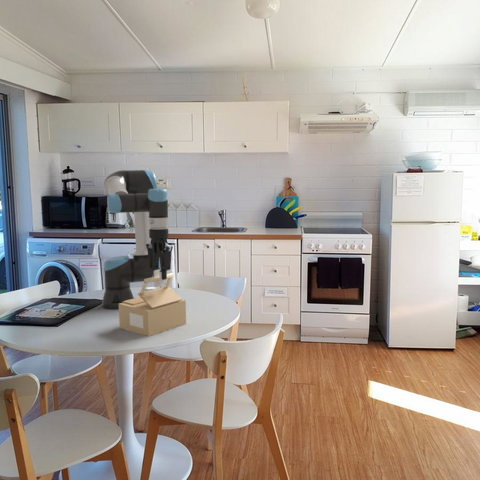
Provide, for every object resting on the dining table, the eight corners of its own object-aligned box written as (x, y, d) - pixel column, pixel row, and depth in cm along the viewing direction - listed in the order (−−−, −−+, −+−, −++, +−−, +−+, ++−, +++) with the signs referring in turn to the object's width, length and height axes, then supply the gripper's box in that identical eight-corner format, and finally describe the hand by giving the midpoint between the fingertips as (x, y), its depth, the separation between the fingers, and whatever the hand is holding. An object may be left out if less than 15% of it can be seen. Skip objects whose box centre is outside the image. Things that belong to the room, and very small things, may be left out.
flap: (137, 293, 181) (142, 278, 178) (167, 286, 193) (173, 271, 190) (151, 308, 176) (157, 293, 173) (181, 300, 189) (187, 285, 186)
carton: (119, 327, 187) (118, 302, 186) (157, 316, 203) (156, 292, 201) (148, 336, 176) (147, 309, 175) (186, 323, 192) (185, 298, 190)
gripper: (138, 227, 183) (140, 285, 186) (165, 230, 173) (166, 291, 176) (152, 226, 189) (154, 282, 192) (179, 228, 179) (180, 287, 182)
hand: (160, 286), depth 184 cm, fingers open, 3 cm apart
